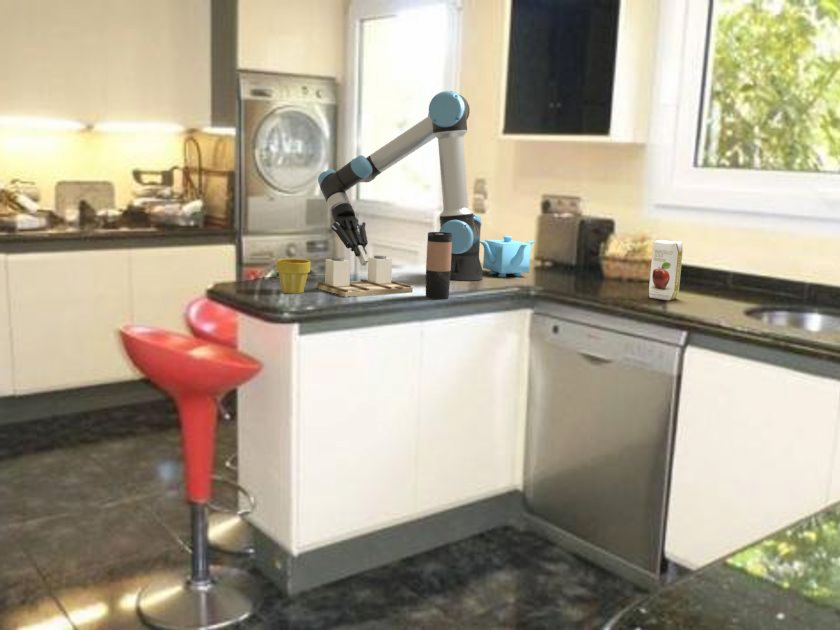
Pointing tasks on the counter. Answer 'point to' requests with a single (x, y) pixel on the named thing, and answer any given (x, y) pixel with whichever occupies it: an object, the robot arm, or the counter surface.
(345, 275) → the button
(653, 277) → the juice carton
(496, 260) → the teakettle
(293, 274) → the plant pot
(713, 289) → the counter surface
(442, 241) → the travel mug
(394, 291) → the wooden tray
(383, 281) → the button
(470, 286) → the counter surface
